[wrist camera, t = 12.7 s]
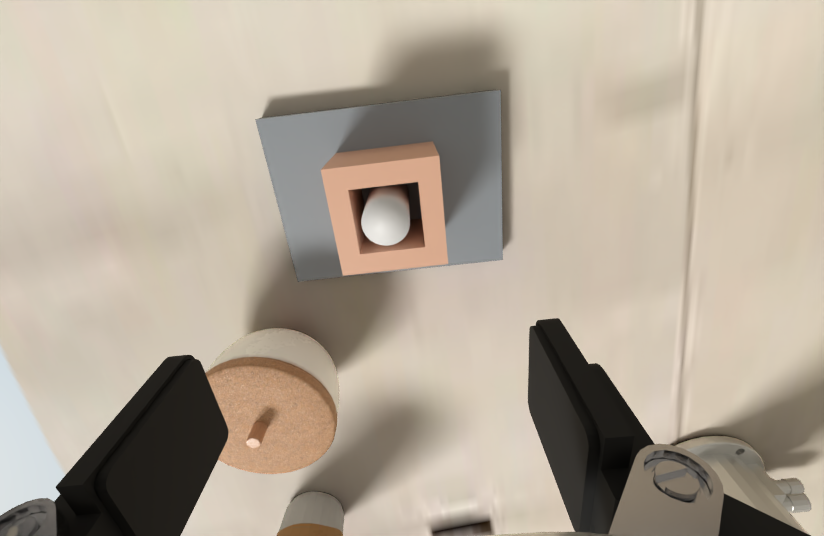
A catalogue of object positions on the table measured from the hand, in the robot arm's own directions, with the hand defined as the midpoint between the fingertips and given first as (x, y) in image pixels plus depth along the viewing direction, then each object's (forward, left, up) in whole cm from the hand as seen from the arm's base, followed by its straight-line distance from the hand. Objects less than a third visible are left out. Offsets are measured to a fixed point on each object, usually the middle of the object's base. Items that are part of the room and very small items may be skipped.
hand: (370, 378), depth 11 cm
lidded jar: (+11, +14, -20) cm, 27 cm away
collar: (0, 0, -19) cm, 19 cm away
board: (0, 0, -20) cm, 20 cm away
